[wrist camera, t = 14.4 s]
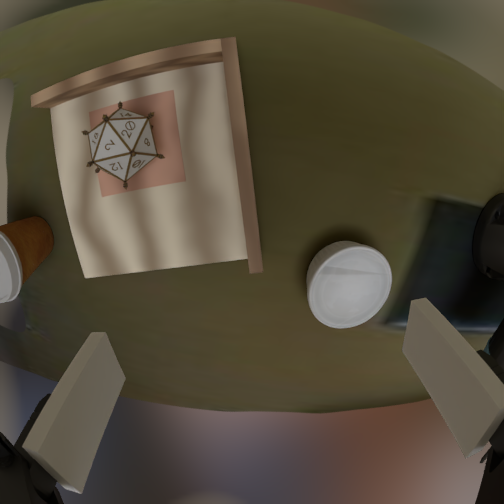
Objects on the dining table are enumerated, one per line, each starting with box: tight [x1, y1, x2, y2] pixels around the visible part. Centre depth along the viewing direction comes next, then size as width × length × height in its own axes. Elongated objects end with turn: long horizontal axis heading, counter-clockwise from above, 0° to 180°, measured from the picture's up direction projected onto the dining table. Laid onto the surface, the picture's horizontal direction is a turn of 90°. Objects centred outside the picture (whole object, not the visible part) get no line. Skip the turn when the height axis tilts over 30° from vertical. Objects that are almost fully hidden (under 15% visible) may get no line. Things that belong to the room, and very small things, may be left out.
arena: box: [31, 37, 263, 278], centre depth 31 cm, size 24×26×5 cm
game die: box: [81, 101, 165, 190], centre depth 28 cm, size 9×8×10 cm
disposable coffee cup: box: [0, 216, 54, 303], centre depth 30 cm, size 10×10×12 cm
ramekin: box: [306, 241, 392, 328], centre depth 37 cm, size 11×11×5 cm
